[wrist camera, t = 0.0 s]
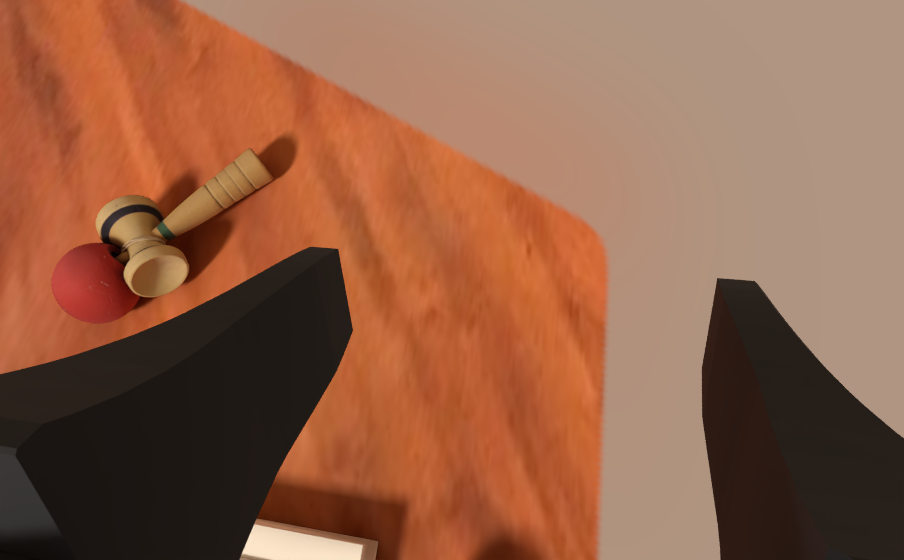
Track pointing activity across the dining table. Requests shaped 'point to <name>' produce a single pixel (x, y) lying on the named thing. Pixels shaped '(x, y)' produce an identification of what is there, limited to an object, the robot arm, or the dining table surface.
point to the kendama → (144, 246)
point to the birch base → (304, 544)
